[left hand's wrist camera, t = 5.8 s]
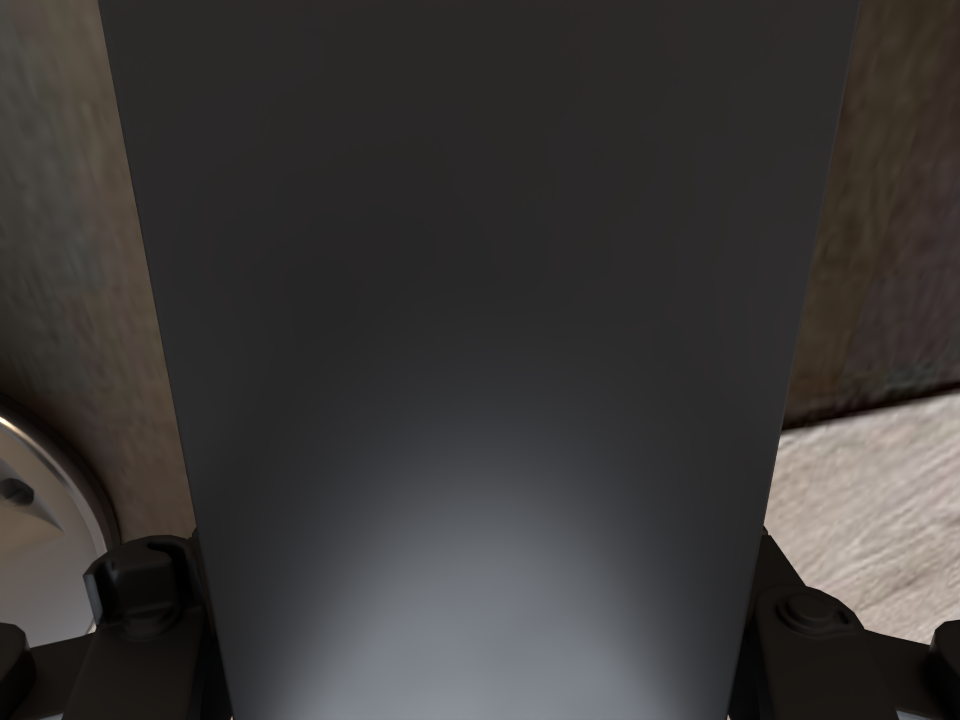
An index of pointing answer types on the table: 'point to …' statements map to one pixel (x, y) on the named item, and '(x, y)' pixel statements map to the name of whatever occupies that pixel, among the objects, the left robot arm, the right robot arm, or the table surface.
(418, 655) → the bar
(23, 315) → the table surface
